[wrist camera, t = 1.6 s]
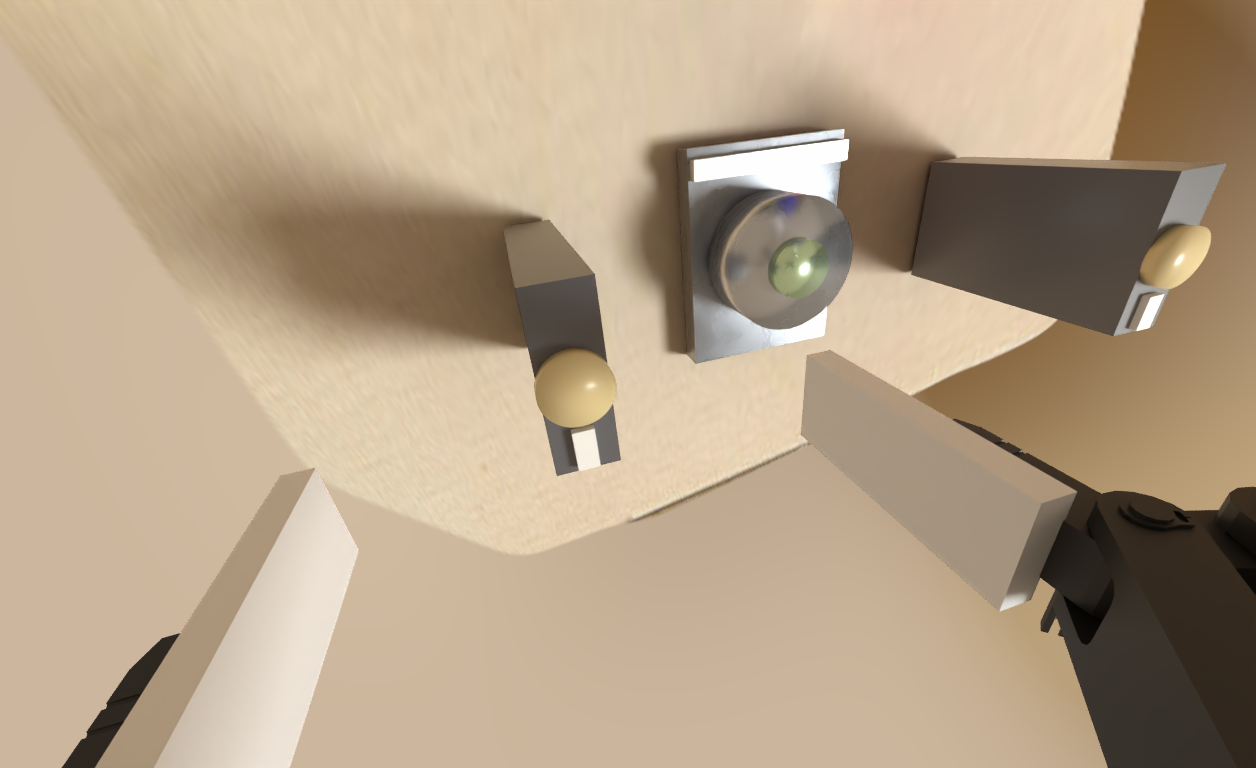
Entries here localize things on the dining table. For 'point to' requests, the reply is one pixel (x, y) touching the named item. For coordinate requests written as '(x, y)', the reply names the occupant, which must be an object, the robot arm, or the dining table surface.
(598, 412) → the dark grey flat block
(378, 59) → the dining table surface
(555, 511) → the dining table surface
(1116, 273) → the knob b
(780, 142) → the levelling plate
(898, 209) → the dining table surface
